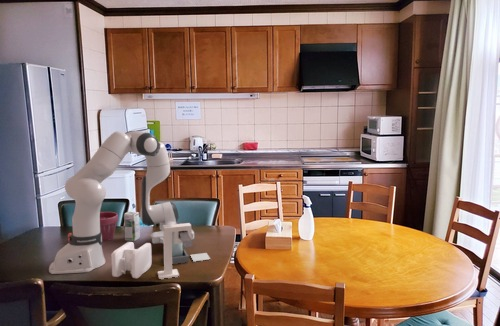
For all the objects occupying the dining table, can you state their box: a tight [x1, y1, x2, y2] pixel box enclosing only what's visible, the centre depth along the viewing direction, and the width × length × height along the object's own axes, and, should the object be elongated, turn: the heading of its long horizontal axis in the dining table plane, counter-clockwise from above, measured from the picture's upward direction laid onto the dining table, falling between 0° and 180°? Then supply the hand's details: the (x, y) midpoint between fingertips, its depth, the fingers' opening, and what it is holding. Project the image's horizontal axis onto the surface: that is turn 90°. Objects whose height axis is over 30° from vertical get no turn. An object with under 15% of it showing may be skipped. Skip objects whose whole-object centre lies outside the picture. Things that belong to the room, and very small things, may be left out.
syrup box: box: [123, 211, 141, 242], centre depth 198 cm, size 6×6×14 cm
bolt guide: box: [157, 222, 193, 280], centre depth 155 cm, size 14×6×21 cm, turn 110°
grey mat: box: [189, 252, 211, 263], centre depth 174 cm, size 8×8×1 cm
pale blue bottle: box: [172, 232, 184, 257], centre depth 170 cm, size 5×5×14 cm
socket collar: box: [172, 248, 190, 265], centre depth 171 cm, size 9×9×3 cm
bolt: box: [178, 222, 193, 248], centre depth 152 cm, size 4×21×4 cm, turn 20°
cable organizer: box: [110, 241, 153, 279], centre depth 156 cm, size 15×11×12 cm
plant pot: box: [100, 211, 119, 242], centre depth 199 cm, size 14×14×13 cm
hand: (175, 241), depth 174 cm, fingers open, 8 cm apart
